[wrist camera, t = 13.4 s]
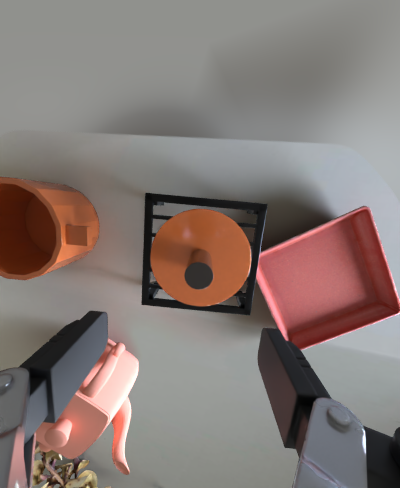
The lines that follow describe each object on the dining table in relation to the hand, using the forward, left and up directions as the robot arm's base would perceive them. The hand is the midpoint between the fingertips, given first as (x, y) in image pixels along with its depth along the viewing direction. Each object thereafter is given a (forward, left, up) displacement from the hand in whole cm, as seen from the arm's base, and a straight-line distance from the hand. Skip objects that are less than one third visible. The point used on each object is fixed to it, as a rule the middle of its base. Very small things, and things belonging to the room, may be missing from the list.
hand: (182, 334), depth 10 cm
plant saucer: (+4, +20, -22) cm, 30 cm away
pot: (-1, -22, -22) cm, 32 cm away
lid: (+1, +1, -17) cm, 17 cm away
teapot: (+24, -15, -22) cm, 36 cm away
